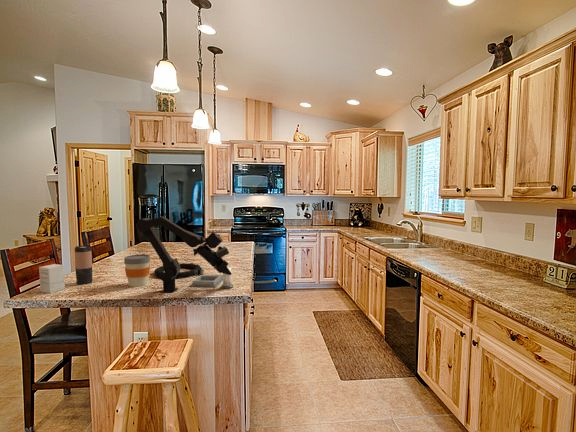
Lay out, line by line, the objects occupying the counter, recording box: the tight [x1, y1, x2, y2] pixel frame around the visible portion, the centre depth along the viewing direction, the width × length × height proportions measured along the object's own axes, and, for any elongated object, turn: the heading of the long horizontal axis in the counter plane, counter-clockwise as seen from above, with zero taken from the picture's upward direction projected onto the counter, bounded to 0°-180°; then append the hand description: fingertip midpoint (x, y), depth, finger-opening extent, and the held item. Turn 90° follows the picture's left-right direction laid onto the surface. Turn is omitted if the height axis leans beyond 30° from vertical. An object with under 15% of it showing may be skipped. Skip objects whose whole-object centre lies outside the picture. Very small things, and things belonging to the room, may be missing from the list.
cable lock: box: [153, 262, 205, 279], centre depth 192 cm, size 28×4×30 cm
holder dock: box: [189, 274, 223, 288], centre depth 175 cm, size 22×14×3 cm, turn 174°
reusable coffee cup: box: [123, 254, 151, 288], centre depth 168 cm, size 12×13×15 cm
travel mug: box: [74, 244, 93, 286], centre depth 169 cm, size 8×8×20 cm
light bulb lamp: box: [220, 266, 234, 290], centre depth 163 cm, size 6×6×10 cm
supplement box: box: [38, 263, 66, 294], centre depth 156 cm, size 7×7×13 cm
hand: (229, 273), depth 164 cm, fingers closed on light bulb lamp, 4 cm apart
